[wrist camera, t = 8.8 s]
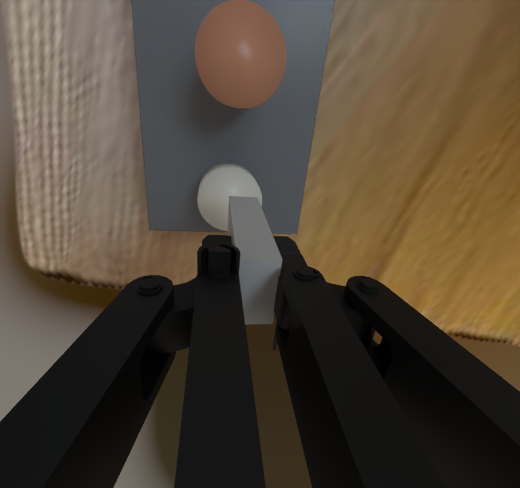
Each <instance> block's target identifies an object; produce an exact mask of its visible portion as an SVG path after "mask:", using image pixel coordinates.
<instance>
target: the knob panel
mask: <svg viewBox="0 0 520 488" xmlns="http://www.w3.org/2000/svg"><path fill="white" fill-rule="evenodd" d="M225 1H229V0H131V2H132V15H133V28H134V41H135V53H136V66H137V79H138V92H139V105H140V117H141V130H142V143H143V156H144V169H145V181H146V194H147V207H148V220H149V230H166V231H203V232H227V231H224V230H220V229H217V228H215V227H213V226H211V225H210V224H209V223H208V222H206V220H205V219H204V218H203V217H202V215H201V213H200V211H199V208H198V203H197V197H198V190H199V184H200V181H201V178H202V176H203V175H204V173H205V172H206V171H207V170H208V169H209V168H210V167H212V166H214V165H216V164H218V163H222V162H234V163H238V164H240V165H242V166H244V167H245V168H247V169H248V170H249V171H250V172H251V173H252V175H253V176H254V178H255V180H256V182H257V184H258V185H259V187H260V190H261V194H262V206H261V207H262V210H263V212H264V215H265V217H266V220H267V222H268V225H269V227H270V230H271V232H272V233H277V234H297V230H298V224H299V218H300V212H301V205H302V199H303V193H304V187H305V181H306V175H307V169H308V162H309V156H310V150H311V144H312V138H313V132H314V126H315V119H316V113H317V107H318V101H319V95H320V89H321V83H322V76H323V70H324V64H325V58H326V52H327V46H328V40H329V33H330V27H331V21H332V15H333V9H334V3H335V0H248V1H251V2H254V3H256V4H258V5H260V6H261V7H263V8H264V9H265V10H266V11H268V12H269V13H270V14H271V16H272V17H273V18H274V19H275V21H276V22H277V24H278V26H279V28H280V30H281V32H282V35H283V38H284V41H285V47H286V66H285V71H284V75H283V78H282V80H281V83H280V85H279V86H278V88H277V89H276V91H275V92H274V93H273V95H272V96H271V97H270V98H268V99H267V100H266V101H265V102H263V103H261V104H259V105H257V106H254V107H251V108H235V107H230V106H227V105H225V104H222V103H221V102H219V101H218V100H216V99H215V98H214V97H213V96H212V95H211V94H210V93H209V92H208V91H207V89H206V88H205V86H204V84H203V82H202V80H201V78H200V76H199V73H198V70H197V67H196V62H195V41H196V36H197V33H198V30H199V27H200V25H201V23H202V21H203V20H204V18H205V17H206V15H207V14H208V13H209V12H210V11H211V10H212V9H213V8H214V7H216V6H217V5H219V4H221V3H223V2H225Z"/></svg>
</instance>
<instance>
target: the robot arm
mask: <svg viewBox="0 0 520 488" xmlns="http://www.w3.org/2000/svg"><path fill="white" fill-rule="evenodd" d="M197 266H198V274H197V276H196V278H194V279H193V280H191V281H189V282H187V283H183V284H179V285H173V283H172V281H171V280H169V279H168V278H167V277H163V276H159V275H148V276H143V277H140V278H137V279H135V280H133V281H132V282H130V283H129V284H128V285H127V286H126V287H125V288H124V289H123V290H122V291H121V292H120V293H119V295H117V297H116V298H115V299H114V300H113V301H112V302H111V303H110V304H109V305H108V306H107V307H106V308H105V309H104V311H103V312H102V313H101V314H100V315H99V316H98V317H97V318H96V319H95V320H94V321H93V323H91V325H90V326H89V327H88V328H87V329H86V330H85V331H84V332H83V333H82V334H81V335H80V336H79V337H78V339H77V340H76V341H75V342H74V343H73V344H72V345H71V346H70V347H69V348H68V349H67V350H66V352H65V353H64V354H63V355H62V356H61V357H60V358H59V359H58V360H57V361H56V362H55V363H54V364H53V366H52V367H51V368H50V369H49V370H48V371H47V372H46V373H45V374H44V375H43V376H42V377H41V379H39V381H38V382H37V383H36V384H35V385H34V386H33V387H32V388H31V389H30V390H29V391H28V392H27V394H26V395H25V396H24V397H23V398H22V399H21V400H20V401H19V402H18V403H17V404H16V405H15V406H14V407H13V409H12V410H11V411H10V412H9V413H8V414H7V415H6V416H5V417H4V418H3V419H2V420H1V422H0V488H113V487H114V485H115V483H116V481H117V479H118V476H119V475H120V472H121V470H122V468H123V466H124V464H125V462H126V460H127V458H128V455H129V453H130V451H131V449H132V447H133V445H134V443H135V441H136V438H137V436H138V434H139V432H140V430H141V428H142V426H143V424H144V422H145V419H146V417H147V415H148V413H149V411H150V409H151V406H152V405H153V403H154V400H155V398H156V396H157V394H158V392H159V390H160V387H161V385H162V383H163V381H164V379H165V377H166V375H167V373H168V371H169V369H170V367H171V364H172V362H173V360H174V358H175V355H176V351H178V350H182V349H185V348H188V347H190V348H189V357H188V366H187V375H186V385H185V394H184V403H183V412H182V422H181V430H180V440H179V449H178V458H177V468H176V477H175V486H174V488H265V480H264V471H263V464H262V455H261V447H260V439H259V431H258V424H257V415H256V407H255V400H254V391H253V383H252V375H251V367H250V359H249V352H248V343H247V335H246V328H245V324H273V318H274V312H275V316H276V320H277V323H276V329H275V336H274V342H273V350H276V346H277V344H278V347H279V351H280V356H281V360H282V364H283V368H284V372H285V376H286V380H287V385H288V389H289V393H290V397H291V401H292V406H293V410H294V414H295V418H296V422H297V426H298V430H299V434H300V438H301V443H302V447H303V451H304V455H305V459H306V463H307V468H308V472H309V476H310V480H311V485H312V488H520V392H519V391H518V390H517V389H516V388H514V387H513V386H512V385H511V384H509V383H508V382H507V381H505V380H504V379H503V378H502V377H500V376H499V375H498V374H497V373H495V372H494V371H493V370H491V369H490V368H489V367H488V366H486V365H485V364H484V363H483V362H481V361H480V360H479V359H478V358H476V357H475V356H473V355H472V354H471V353H470V352H468V351H467V350H466V349H465V348H463V347H462V346H461V345H460V344H458V343H457V342H456V341H454V340H453V339H452V338H451V337H450V336H448V335H447V334H446V333H444V332H443V331H442V330H441V329H439V328H438V327H437V326H436V325H434V324H433V323H432V322H431V321H429V320H428V319H427V318H425V317H424V316H423V315H422V314H420V313H419V312H418V311H417V310H415V309H414V308H413V307H411V306H410V305H409V304H408V303H406V302H405V301H404V300H403V299H401V298H400V297H399V296H397V295H396V294H395V293H394V292H392V291H391V290H390V289H389V288H387V287H386V286H385V285H384V284H382V283H380V282H379V281H377V280H375V279H372V278H370V277H366V276H354V277H351V278H349V280H348V281H347V284H346V286H341V285H336V284H331V283H327V282H326V280H325V279H324V277H323V275H322V274H321V273H320V272H319V271H318V270H316V269H314V268H312V267H309V266H307V264H306V262H305V260H304V258H303V256H302V254H300V251H299V249H298V247H297V245H296V243H295V242H294V241H293V240H292V239H290V238H289V237H285V236H273V235H272V232H271V230H270V227H269V225H268V222H267V220H266V217H265V215H264V212H263V210H262V207H261V205H260V202H259V200H258V198H257V197H239V196H229V208H228V228H227V236H226V235H207V236H206V237H205V238H204V239H203V241H202V246H201V247H200V248H199V249H198V251H197ZM375 331H377V332H378V333H379V334H380V335H381V336H382V337H383V338H382V341H381V343H380V345H379V344H377V343H376V342H375V341H374V340H373V337H374V334H375Z"/></svg>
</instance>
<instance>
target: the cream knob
mask: <svg viewBox="0 0 520 488" xmlns="http://www.w3.org/2000/svg"><path fill="white" fill-rule="evenodd" d="M229 196H239V197H257V198H258V200H259V202H260V205H261V206H262V194H261V190H260V187H259V185H258V184H257V182H256V180H255V178H254V176H253V175H252V173H251V172H250V171H249V170H248V169H247V168H245V167H244V166H242V165H240V164H238V163H234V162H222V163H218V164H216V165H214V166H212V167H210V168H209V169H208V170H207V171H206V172H205V173H204V175H203V176H202V178H201V181H200V184H199V190H198V197H197V203H198V208H199V211H200V213H201V215H202V217H203V218H204V219H205V220H206V222H208V223H209V224H210V225H211V226H213V227H215V228H217V229H220V230H224V231H227V228H228V208H229Z"/></svg>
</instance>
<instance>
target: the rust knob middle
mask: <svg viewBox="0 0 520 488" xmlns="http://www.w3.org/2000/svg"><path fill="white" fill-rule="evenodd" d="M195 62H196V67H197V70H198V73H199V76H200V78H201V80H202V82H203V84H204V86H205V88H206V89H207V91H208V92H209V93H210V94H211V95H212V96H213V97H214V98H215V99H216V100H218V101H219V102H221V103H222V104H225V105H227V106H230V107H235V108H251V107H254V106H257V105H259V104H261V103H263V102H265V101H266V100H267V99H268V98H270V97H271V96H272V95H273V93H274V92H275V91H276V89H277V88H278V86H279V85H280V83H281V80H282V78H283V75H284V71H285V66H286V47H285V41H284V38H283V35H282V32H281V30H280V28H279V26H278V24H277V22H276V21H275V19H274V18H273V17H272V16H271V14H270V13H269V12H268V11H266V10H265V9H264V8H263V7H261V6H260V5H258V4H256V3H254V2H251V1H248V0H229V1H225V2H223V3H221V4H219V5H217V6H216V7H214V8H213V9H212V10H211V11H210V12H209V13H208V14H207V15H206V17H205V18H204V20H203V21H202V23H201V25H200V27H199V30H198V33H197V36H196V41H195Z"/></svg>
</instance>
